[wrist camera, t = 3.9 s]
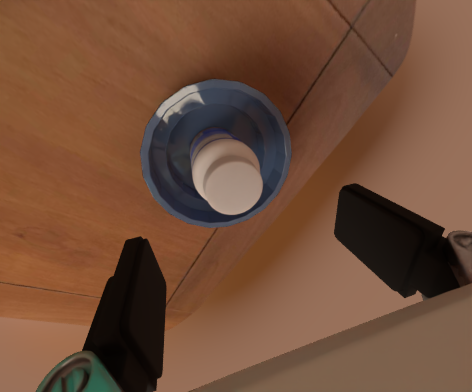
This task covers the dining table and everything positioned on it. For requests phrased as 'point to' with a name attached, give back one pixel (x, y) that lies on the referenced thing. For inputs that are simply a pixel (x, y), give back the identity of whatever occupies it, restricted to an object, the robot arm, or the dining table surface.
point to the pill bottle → (225, 171)
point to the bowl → (202, 117)
